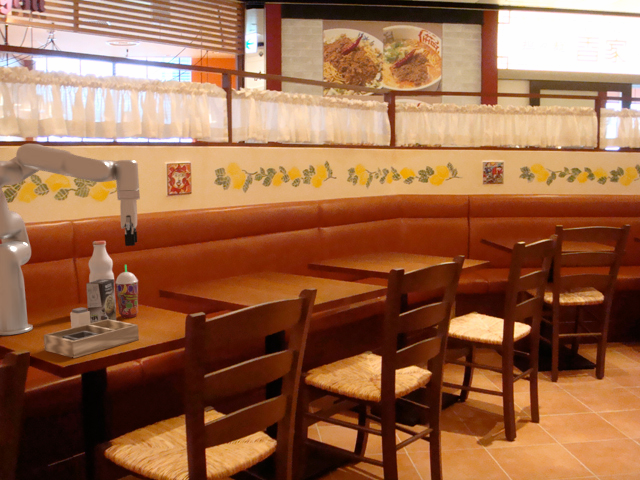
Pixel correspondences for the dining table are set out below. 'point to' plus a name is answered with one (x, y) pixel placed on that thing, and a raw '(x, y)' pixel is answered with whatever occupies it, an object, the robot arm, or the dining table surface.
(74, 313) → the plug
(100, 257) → the white milk bottle
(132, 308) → the smoothie
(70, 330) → the caddy
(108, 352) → the dining table surface
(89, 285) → the coffee box
